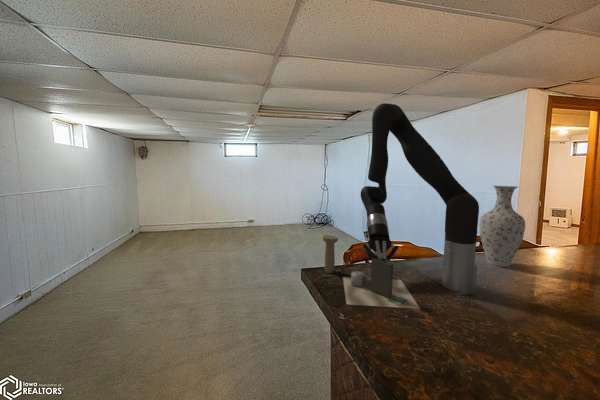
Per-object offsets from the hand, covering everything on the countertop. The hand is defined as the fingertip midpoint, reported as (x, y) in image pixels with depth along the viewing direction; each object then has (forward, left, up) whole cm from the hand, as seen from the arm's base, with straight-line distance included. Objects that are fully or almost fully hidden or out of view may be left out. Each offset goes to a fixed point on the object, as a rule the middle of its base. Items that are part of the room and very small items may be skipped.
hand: (382, 270), depth 91 cm
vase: (-57, -34, -7) cm, 67 cm away
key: (+3, +4, -5) cm, 7 cm away
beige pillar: (+18, -12, -7) cm, 23 cm away
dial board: (+2, +3, -7) cm, 8 cm away
